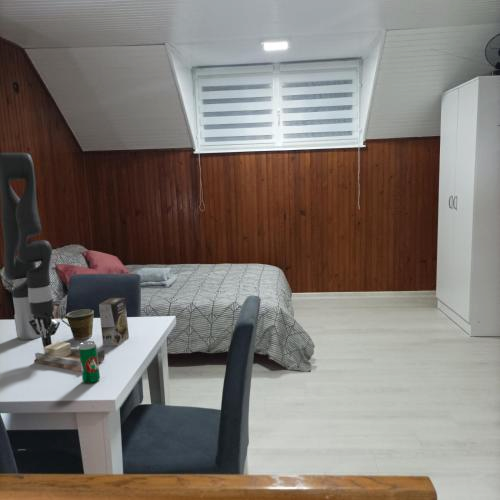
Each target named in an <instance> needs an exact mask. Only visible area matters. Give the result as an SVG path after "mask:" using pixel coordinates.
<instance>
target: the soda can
mask: <svg viewBox="0 0 500 500" xmlns="http://www.w3.org/2000/svg"><path fill="white" fill-rule="evenodd" d="M78 348H79V355H80V364H81V371H80V372H81V380H82V382H83V383H85V384H87V385H90V384H94V383H97V382H98V381H99V380H100V378H101V375H100V374H101V373H100V364H99V363H98V355H97V351H98V347H97V344H96V342H95V341H94V340H93V341H92V340H86V341H83V342H81V343H79V347H78Z"/></svg>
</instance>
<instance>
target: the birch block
mask: <svg viewBox="0 0 500 500" xmlns="http://www.w3.org/2000/svg"><path fill="white" fill-rule="evenodd" d="M43 352H44V353H43V354H48V355H54V356H60V357H67V356H69V355H71V343H70V342H64V341H59V340H58V341H55V342H54V343H52V344H50V345H48V346H46V347H43Z"/></svg>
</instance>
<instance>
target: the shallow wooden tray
mask: <svg viewBox="0 0 500 500" xmlns="http://www.w3.org/2000/svg"><path fill="white" fill-rule="evenodd" d="M97 355H98V364H99V363H101V362H104V360H105V358H106V357H105V350H104V349H100V350H97ZM34 356H35V358H34V363H35V364H39V365H45V366H51V367H56V368H60V369H67V370H72V371H75V372H76V371H77V372H81V364H80V355H79V347H71V355H69V356H67V357H60V356H54V355H48V354H44V353H41V352H36V353H34Z"/></svg>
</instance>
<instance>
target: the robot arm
mask: <svg viewBox="0 0 500 500" xmlns="http://www.w3.org/2000/svg"><path fill="white" fill-rule="evenodd" d="M12 180H13V181H14V180H25V186H24V190H23V193H22V194H21V197H19V196H18V195H17V193H16V192H15V190H13V187H12V186H11V183H10V181H12ZM36 188H37V186H36V176H35V168H34V161H33V158H32V156H31V155H30V154H29V153H28V152H1V153H0V205H1V206H0V207H1V214H0V215H1V225H2V234H3V248H4V249H3V268H4V274H5V277H6V278H7V279H8V280H9V281H10V280H11V281H13V280H23V279H25V281H24V282H23V283H21V284H19V285H18V286H16V287H14V288H13V289H12V290H11V294H12V295H11V296H12V300H13V301H12V302H13V307H14V314H13V317H14V324H15V331H16V337H17V338H18V339H19V340H21V341H23V340H24V341H26V340H27V341H28V340H34V339H38V338H41V341H42V342H41V343H42V345H43V346H42V347H43V348H44V347H46V346H48V345H50V344H53V343H52V336H54V335H56V333H57V331H58V329H59V327H60V325H61V322H60V321H56V320H55V316H54V314H53V313H54V312H55V303H54V293H53V288H52V285H51V278H50V266H51V259H52V254H53V248H52V245H51V243H50V241H47V240H46V239H43V240H41V239H40V240H34V241H28V239H29V238H32V237H36V236H38V235H40V234H41V233H42V225H41V220H40V215H39V211H38V203H37V189H36ZM16 253H17V255H16ZM39 262H40V264H39V265H38V266H37V267H36V263H39Z"/></svg>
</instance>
